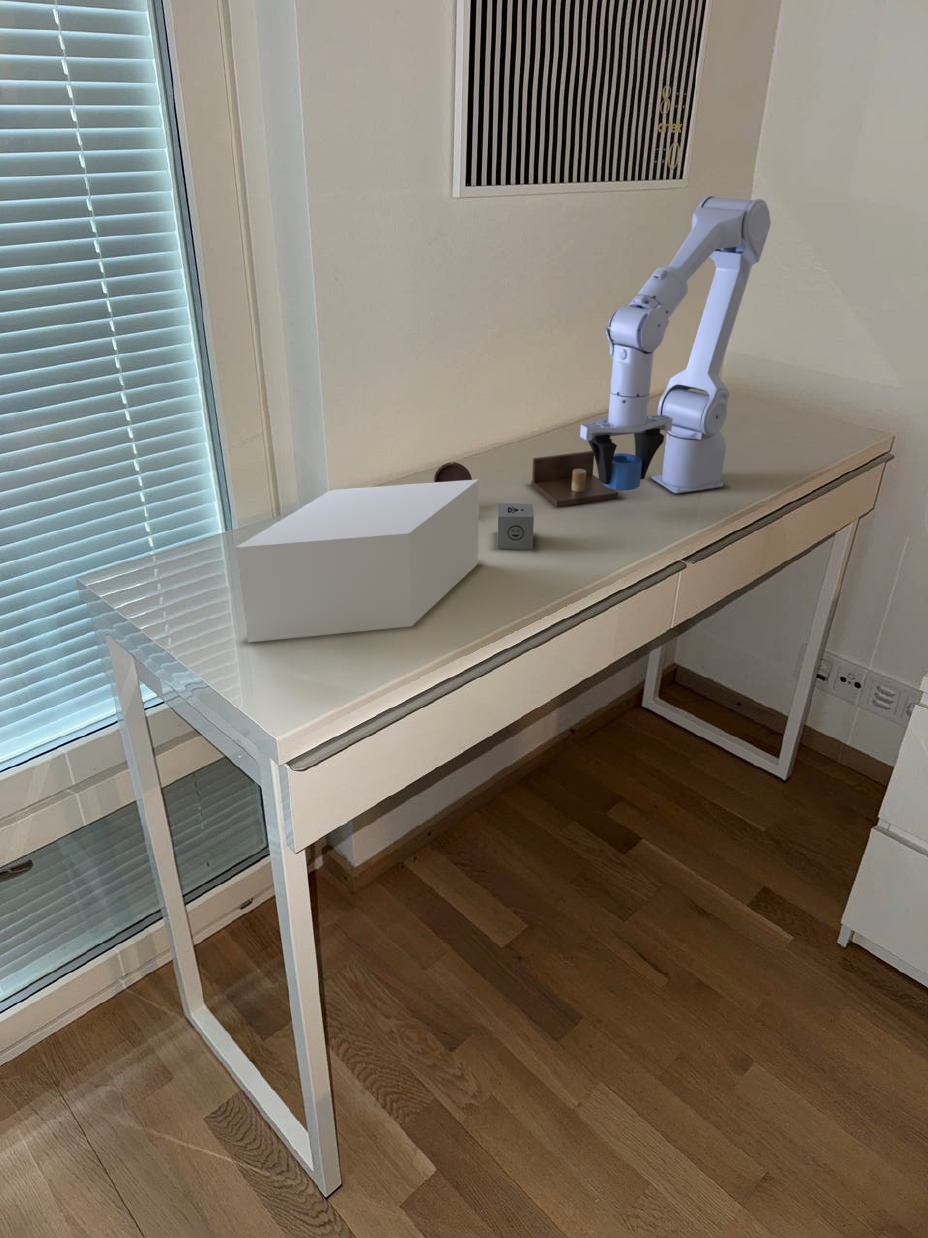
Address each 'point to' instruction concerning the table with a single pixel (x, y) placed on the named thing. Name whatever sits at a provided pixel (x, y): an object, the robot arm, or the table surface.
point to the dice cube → (515, 526)
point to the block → (359, 560)
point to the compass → (452, 473)
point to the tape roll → (625, 472)
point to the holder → (569, 479)
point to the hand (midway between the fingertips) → (622, 479)
